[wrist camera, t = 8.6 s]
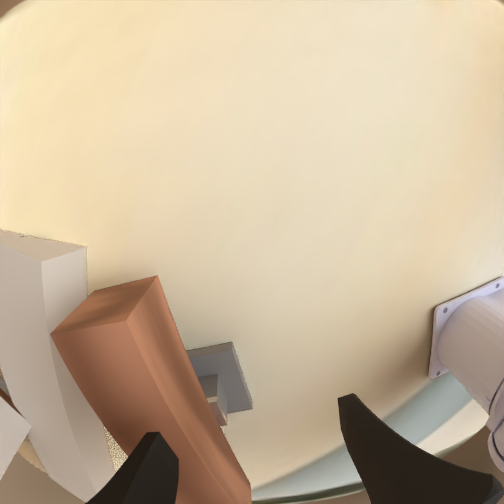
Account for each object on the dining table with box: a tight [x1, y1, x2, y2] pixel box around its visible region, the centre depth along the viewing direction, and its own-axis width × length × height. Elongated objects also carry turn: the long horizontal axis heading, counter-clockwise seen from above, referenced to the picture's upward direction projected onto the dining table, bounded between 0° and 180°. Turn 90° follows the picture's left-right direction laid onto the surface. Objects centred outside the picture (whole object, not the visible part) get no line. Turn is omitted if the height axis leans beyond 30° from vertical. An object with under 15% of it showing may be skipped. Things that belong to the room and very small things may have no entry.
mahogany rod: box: [50, 275, 252, 504], centre depth 15 cm, size 4×20×5 cm, turn 14°
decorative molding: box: [0, 229, 115, 502], centre depth 21 cm, size 34×5×10 cm
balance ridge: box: [186, 342, 253, 426], centre depth 19 cm, size 8×6×4 cm
